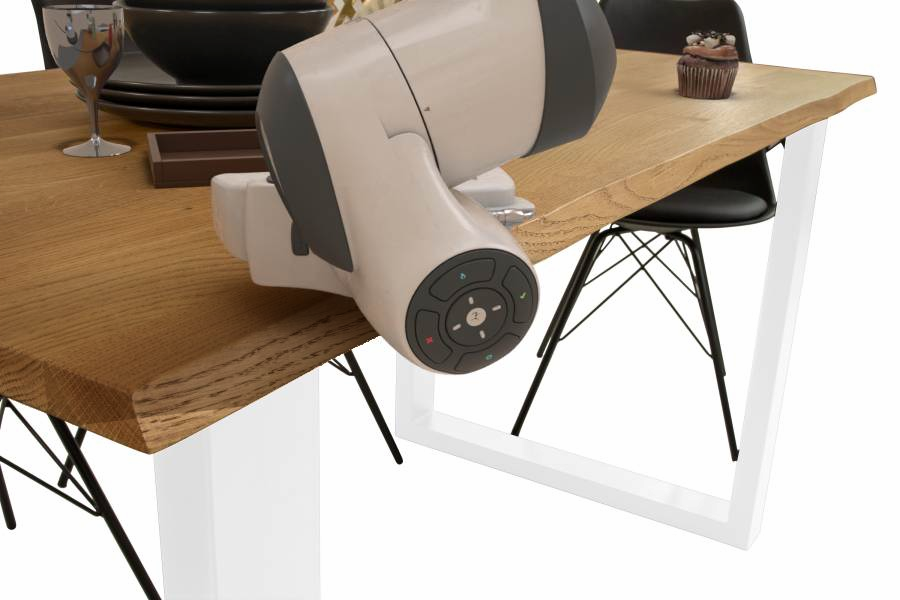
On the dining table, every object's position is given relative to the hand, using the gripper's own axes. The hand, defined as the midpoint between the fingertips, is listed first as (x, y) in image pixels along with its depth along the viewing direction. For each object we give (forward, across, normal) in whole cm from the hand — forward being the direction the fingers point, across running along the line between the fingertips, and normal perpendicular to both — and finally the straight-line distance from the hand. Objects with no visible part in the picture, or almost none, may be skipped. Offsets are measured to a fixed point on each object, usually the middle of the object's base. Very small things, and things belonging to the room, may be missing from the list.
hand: (343, 176), depth 74 cm
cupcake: (+69, -73, +6) cm, 100 cm away
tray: (+32, +3, +6) cm, 32 cm away
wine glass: (+44, +18, +6) cm, 48 cm away
